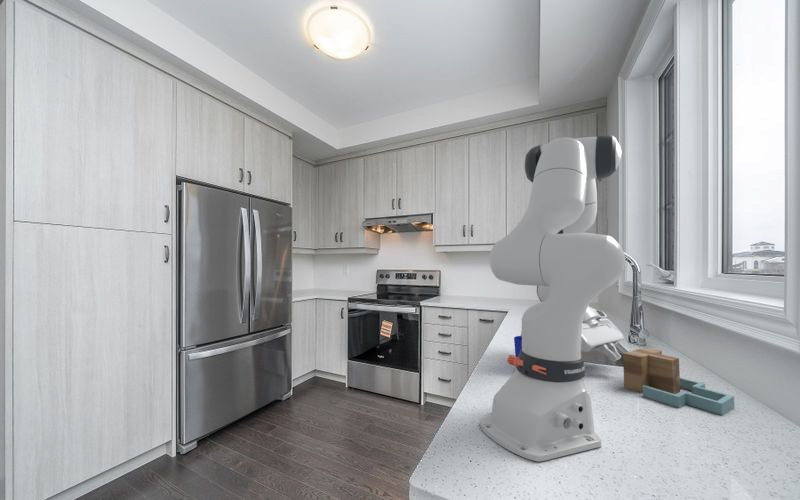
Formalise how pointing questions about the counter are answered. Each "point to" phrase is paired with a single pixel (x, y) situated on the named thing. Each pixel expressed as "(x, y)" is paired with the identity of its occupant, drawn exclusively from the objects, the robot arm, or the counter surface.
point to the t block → (651, 371)
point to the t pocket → (693, 397)
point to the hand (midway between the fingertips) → (617, 359)
